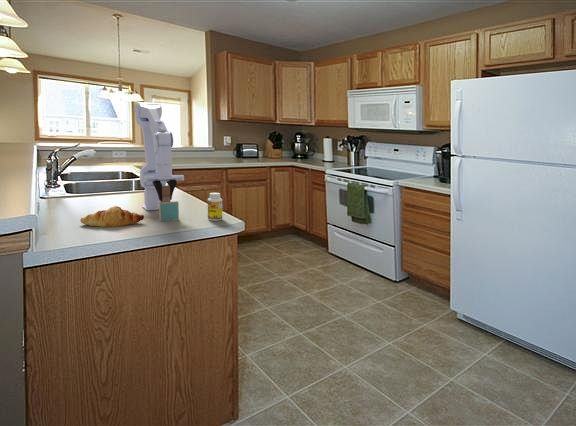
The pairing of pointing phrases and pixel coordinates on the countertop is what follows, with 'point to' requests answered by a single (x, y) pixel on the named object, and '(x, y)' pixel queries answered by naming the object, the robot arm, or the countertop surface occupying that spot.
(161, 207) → the tile
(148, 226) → the countertop surface
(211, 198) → the supplement bottle
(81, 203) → the countertop surface
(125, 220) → the croissant
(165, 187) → the wooden rectangular block
